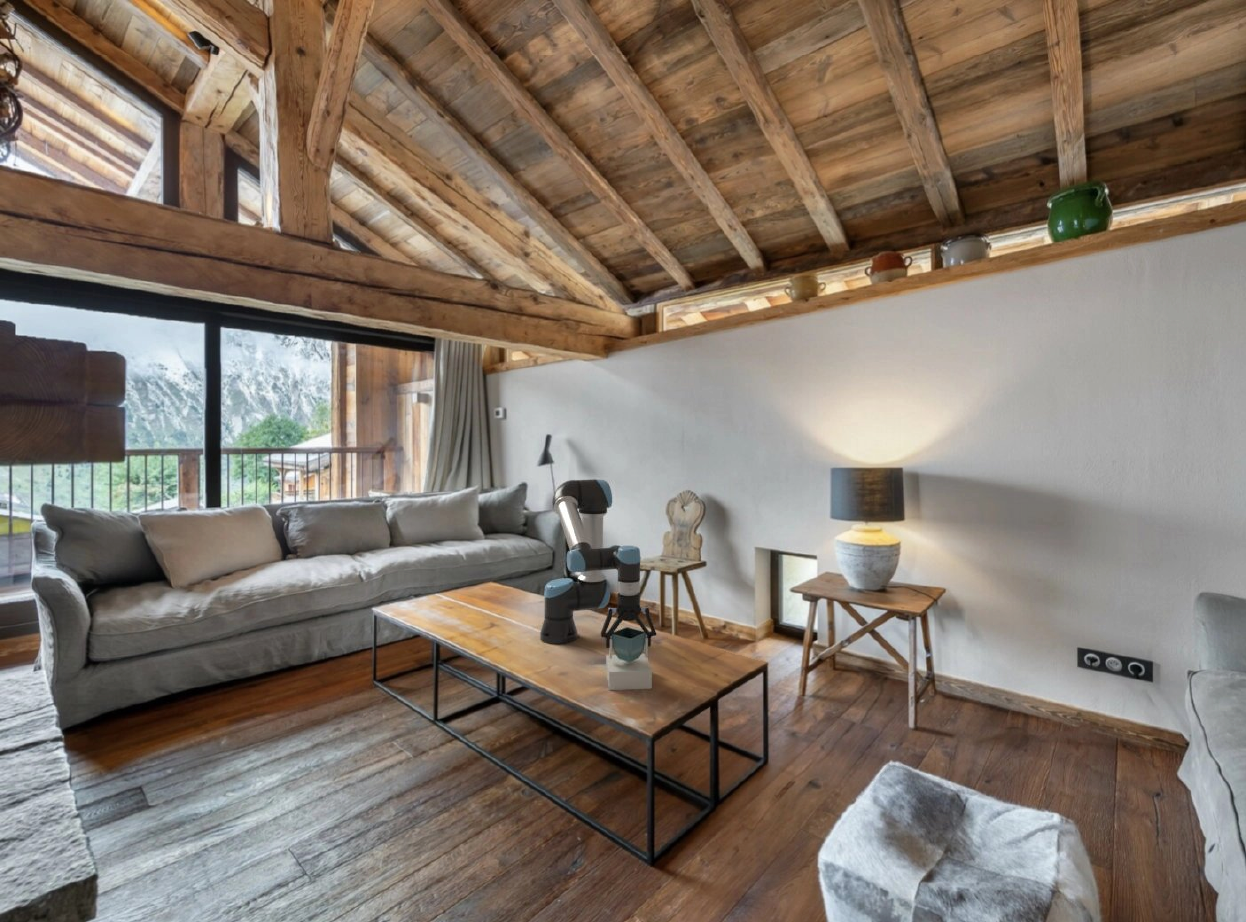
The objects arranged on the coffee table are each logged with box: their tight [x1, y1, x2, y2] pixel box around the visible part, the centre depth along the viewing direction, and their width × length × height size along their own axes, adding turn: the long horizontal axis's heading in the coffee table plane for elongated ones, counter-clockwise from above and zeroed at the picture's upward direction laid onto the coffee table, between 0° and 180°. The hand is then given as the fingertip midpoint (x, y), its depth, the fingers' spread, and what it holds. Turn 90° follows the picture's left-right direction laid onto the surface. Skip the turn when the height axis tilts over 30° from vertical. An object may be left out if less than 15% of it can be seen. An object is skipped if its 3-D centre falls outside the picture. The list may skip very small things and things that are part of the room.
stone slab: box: [605, 653, 653, 691], centre depth 188 cm, size 14×14×6 cm
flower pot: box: [611, 626, 647, 662], centre depth 187 cm, size 9×9×9 cm
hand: (628, 656), depth 187 cm, fingers closed on flower pot, 11 cm apart
